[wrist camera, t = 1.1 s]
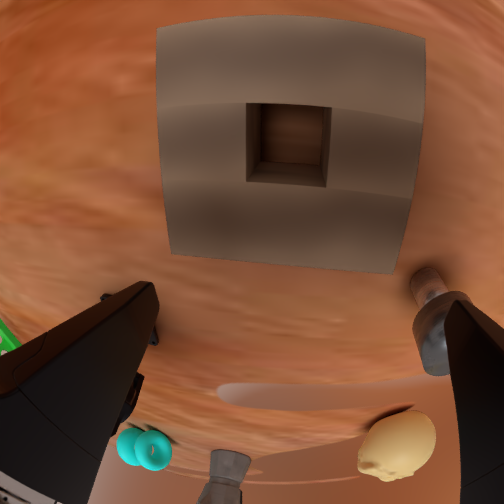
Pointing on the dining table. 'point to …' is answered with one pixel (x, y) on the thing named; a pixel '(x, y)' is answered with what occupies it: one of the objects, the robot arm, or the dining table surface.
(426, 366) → the steel pin
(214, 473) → the coffeepot
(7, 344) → the mechanical part
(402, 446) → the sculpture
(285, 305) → the dining table surface
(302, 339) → the dining table surface
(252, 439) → the dining table surface
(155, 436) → the donuts
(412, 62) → the block
